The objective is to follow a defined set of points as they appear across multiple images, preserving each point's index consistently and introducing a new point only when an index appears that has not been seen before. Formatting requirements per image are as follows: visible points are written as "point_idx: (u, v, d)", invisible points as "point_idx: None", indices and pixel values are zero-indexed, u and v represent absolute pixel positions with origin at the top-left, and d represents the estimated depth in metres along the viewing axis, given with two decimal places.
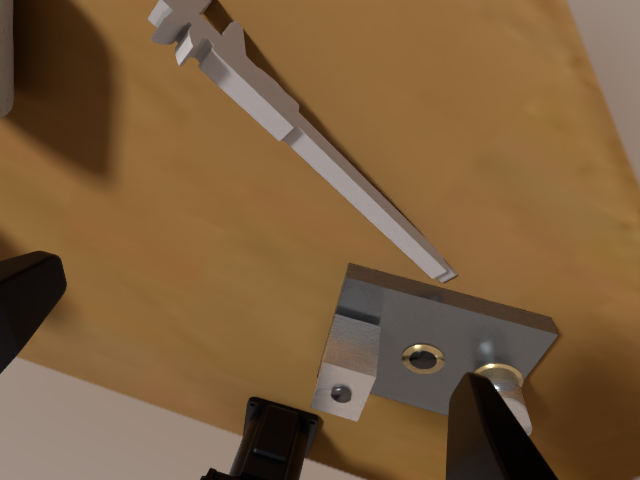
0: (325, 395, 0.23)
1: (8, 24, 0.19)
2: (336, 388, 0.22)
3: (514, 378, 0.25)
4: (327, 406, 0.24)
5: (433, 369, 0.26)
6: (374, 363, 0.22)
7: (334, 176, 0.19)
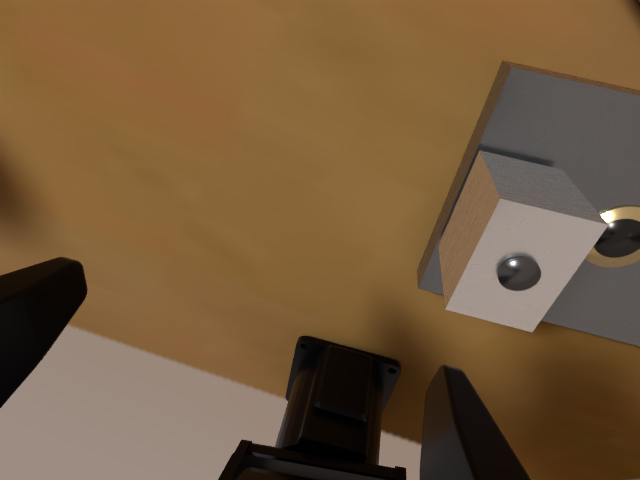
0: (482, 279, 0.12)
1: None
2: (512, 259, 0.12)
3: None
4: (479, 303, 0.13)
5: (631, 257, 0.16)
6: (589, 208, 0.11)
7: None
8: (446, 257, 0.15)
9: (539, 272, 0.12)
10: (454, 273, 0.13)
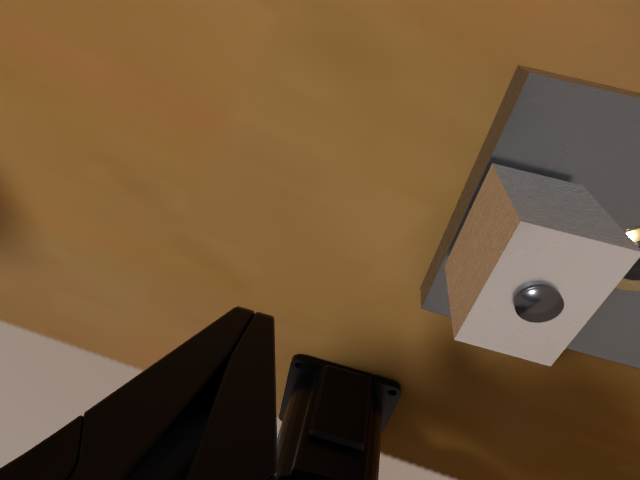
0: (496, 309, 0.11)
1: None
2: (532, 288, 0.10)
3: None
4: (493, 334, 0.12)
5: None
6: (619, 231, 0.10)
7: None
8: (454, 279, 0.14)
9: (562, 303, 0.10)
10: (464, 299, 0.12)
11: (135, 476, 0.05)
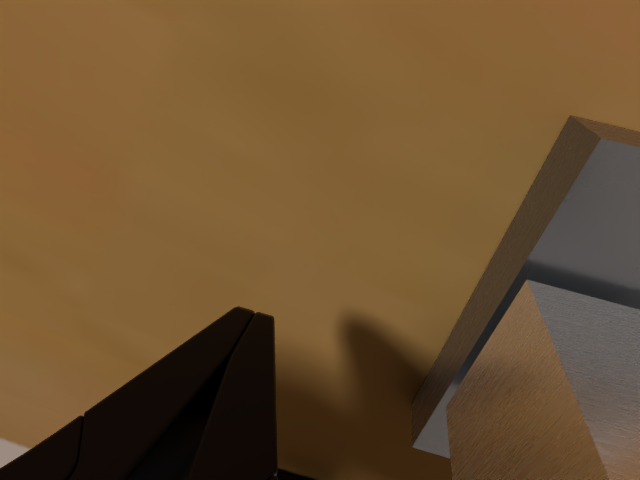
0: None
1: None
2: None
3: None
4: None
5: None
6: None
7: None
8: (462, 459, 0.08)
9: None
10: None
11: (135, 476, 0.05)
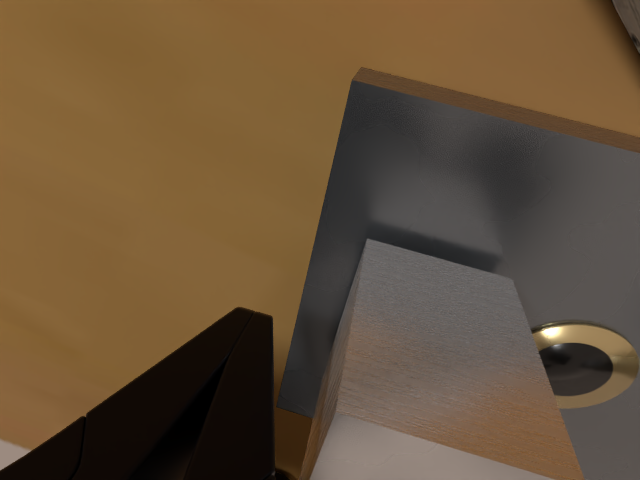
0: None
1: None
2: None
3: None
4: None
5: (588, 396, 0.10)
6: (549, 413, 0.05)
7: None
8: (315, 416, 0.09)
9: None
10: None
11: (137, 477, 0.05)
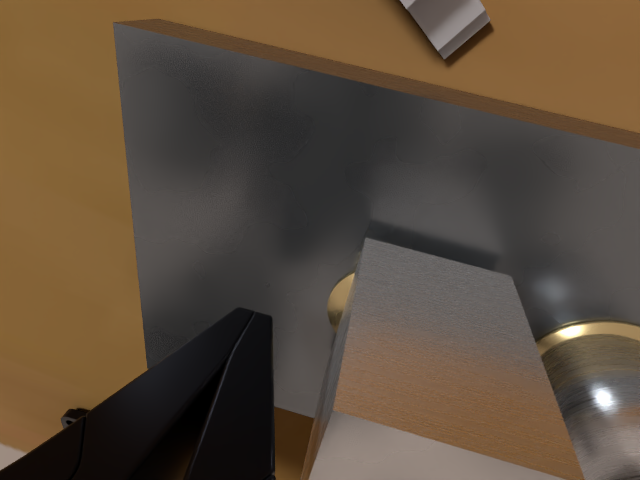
0: None
1: None
2: None
3: None
4: None
5: None
6: (548, 410, 0.05)
7: None
8: (315, 416, 0.09)
9: None
10: None
11: (137, 476, 0.05)
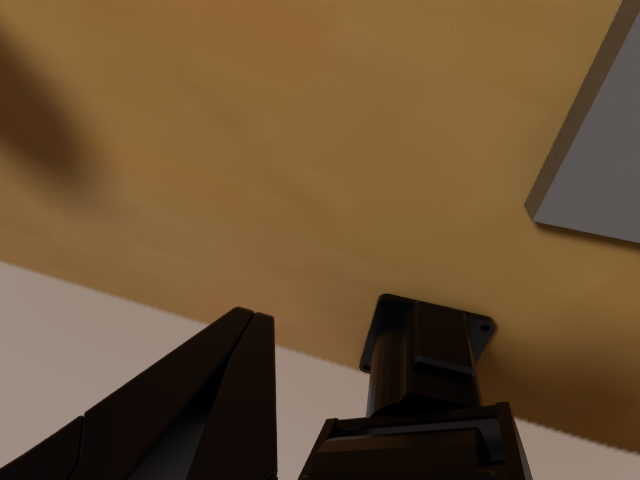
0: None
1: None
2: None
3: None
4: None
5: None
6: None
7: None
8: None
9: None
10: None
11: (135, 476, 0.05)
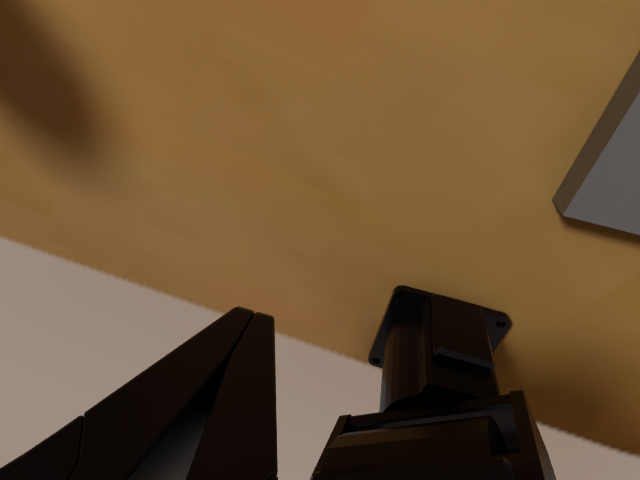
0: None
1: None
2: None
3: None
4: None
5: None
6: None
7: None
8: None
9: None
10: None
11: (135, 476, 0.05)
